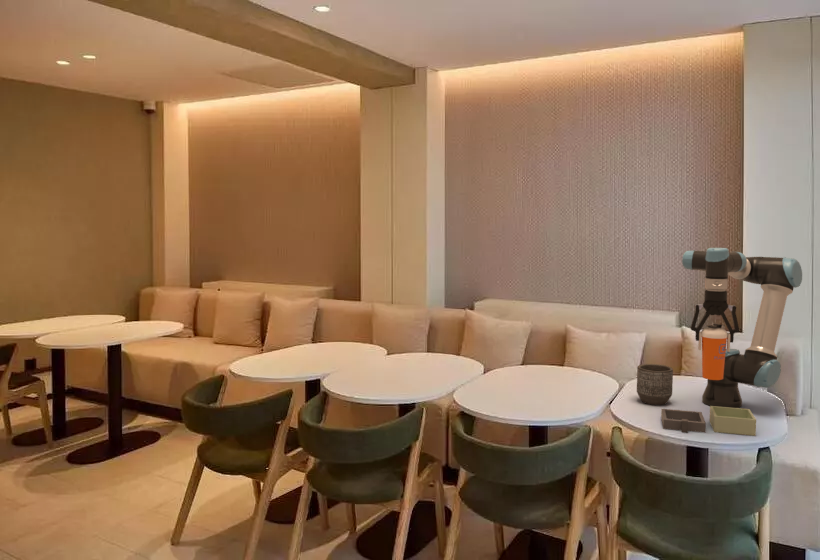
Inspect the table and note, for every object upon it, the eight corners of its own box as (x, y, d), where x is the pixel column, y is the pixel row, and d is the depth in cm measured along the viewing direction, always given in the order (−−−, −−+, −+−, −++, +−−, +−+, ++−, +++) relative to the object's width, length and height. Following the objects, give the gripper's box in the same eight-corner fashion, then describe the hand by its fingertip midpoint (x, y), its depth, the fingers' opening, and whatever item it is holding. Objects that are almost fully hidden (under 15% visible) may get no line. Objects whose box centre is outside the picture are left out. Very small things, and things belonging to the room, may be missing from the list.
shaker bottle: (695, 377, 240) (697, 324, 238) (705, 373, 246) (707, 321, 244) (720, 382, 234) (722, 327, 231) (729, 377, 240) (732, 324, 238)
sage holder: (709, 421, 248) (710, 405, 248) (748, 424, 244) (749, 409, 243) (714, 432, 235) (714, 416, 235) (755, 436, 231) (756, 419, 230)
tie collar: (661, 417, 253) (661, 406, 253) (701, 420, 249) (701, 409, 248) (663, 430, 237) (663, 419, 237) (706, 434, 233) (706, 422, 232)
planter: (672, 399, 278) (673, 365, 276) (671, 408, 265) (672, 372, 263) (638, 395, 284) (639, 362, 282) (634, 404, 271) (635, 369, 269)
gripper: (684, 290, 237) (682, 350, 239) (750, 292, 229) (747, 354, 232) (683, 287, 244) (681, 346, 246) (747, 289, 236) (744, 349, 239)
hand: (713, 350), depth 239 cm, fingers closed on shaker bottle, 9 cm apart
